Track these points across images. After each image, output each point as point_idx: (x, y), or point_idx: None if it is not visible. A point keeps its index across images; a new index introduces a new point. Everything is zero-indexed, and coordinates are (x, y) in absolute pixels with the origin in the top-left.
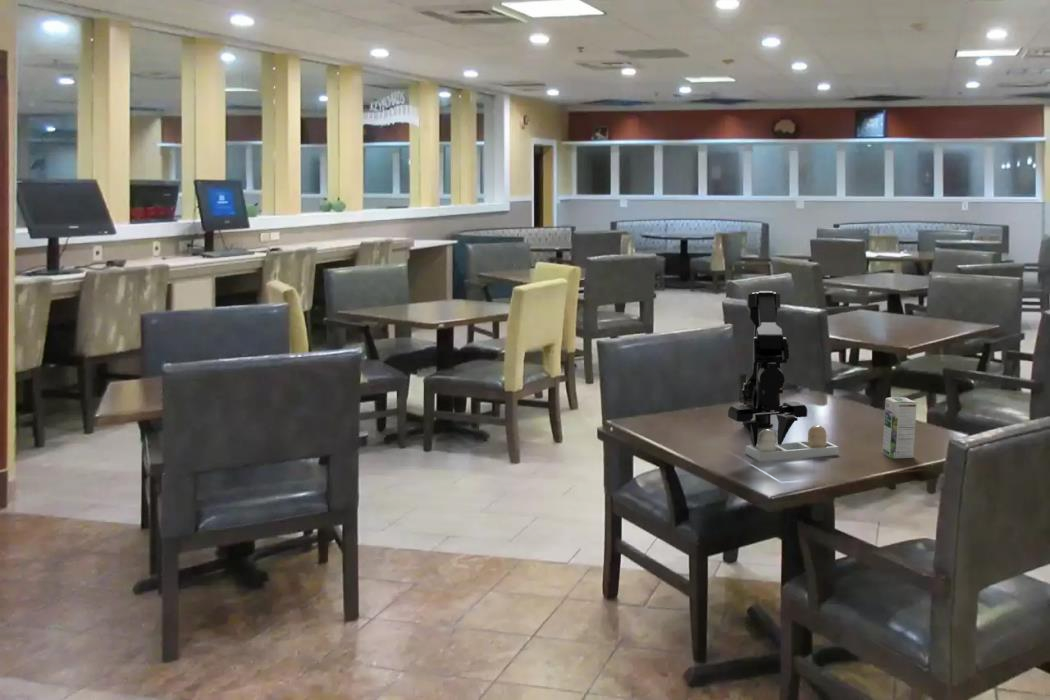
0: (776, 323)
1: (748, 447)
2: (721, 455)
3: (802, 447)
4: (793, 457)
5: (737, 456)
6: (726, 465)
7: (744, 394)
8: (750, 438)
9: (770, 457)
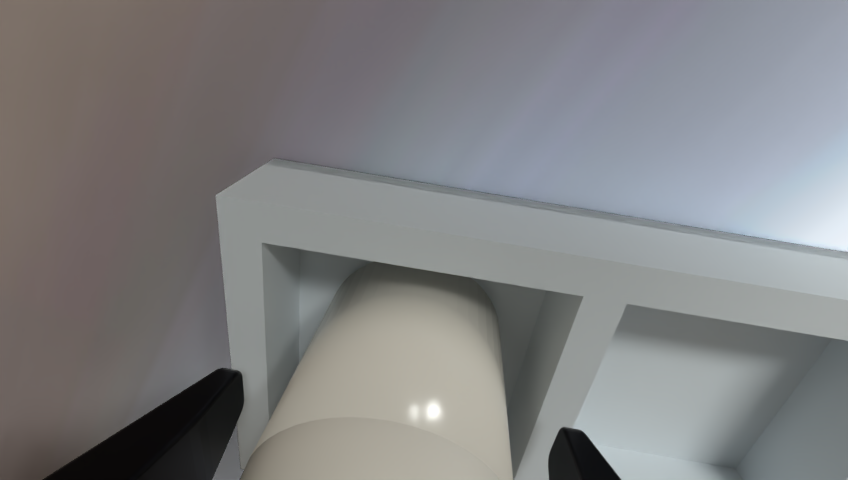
0: None
1: (223, 262)
2: (11, 34)
3: (840, 434)
4: None
5: (177, 151)
6: (15, 332)
7: None
8: (122, 433)
9: None
